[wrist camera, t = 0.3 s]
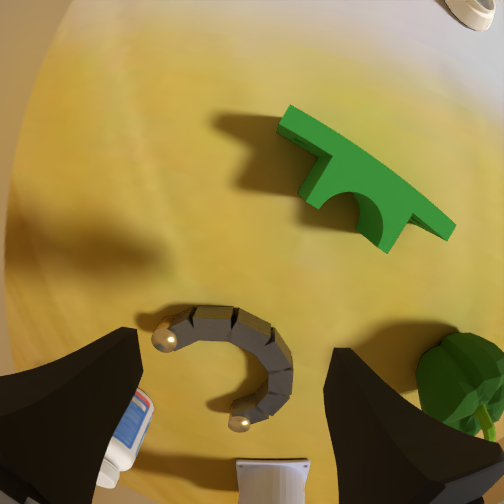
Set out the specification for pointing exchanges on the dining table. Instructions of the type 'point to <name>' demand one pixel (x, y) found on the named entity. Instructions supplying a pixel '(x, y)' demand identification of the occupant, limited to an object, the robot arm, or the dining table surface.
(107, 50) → the dining table surface
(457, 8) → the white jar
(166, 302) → the dining table surface
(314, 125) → the pipe clamp
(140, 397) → the pill bottle
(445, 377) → the bell pepper
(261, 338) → the snap ring
